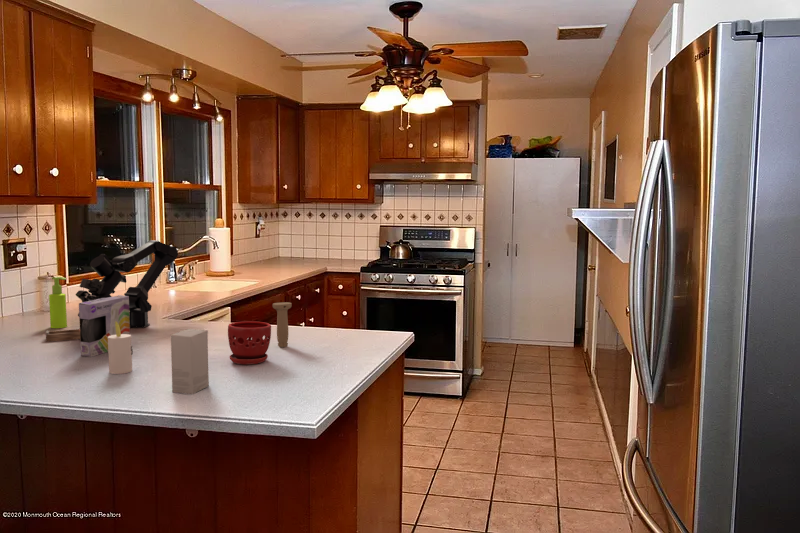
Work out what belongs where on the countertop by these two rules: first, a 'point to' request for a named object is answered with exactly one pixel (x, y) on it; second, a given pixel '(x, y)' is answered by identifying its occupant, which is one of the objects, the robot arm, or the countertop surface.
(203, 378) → the skincare box
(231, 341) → the plant pot
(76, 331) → the track
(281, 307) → the handle
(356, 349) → the countertop surface
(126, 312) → the cake pan box
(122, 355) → the candle
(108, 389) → the countertop surface
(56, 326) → the soap dispenser
